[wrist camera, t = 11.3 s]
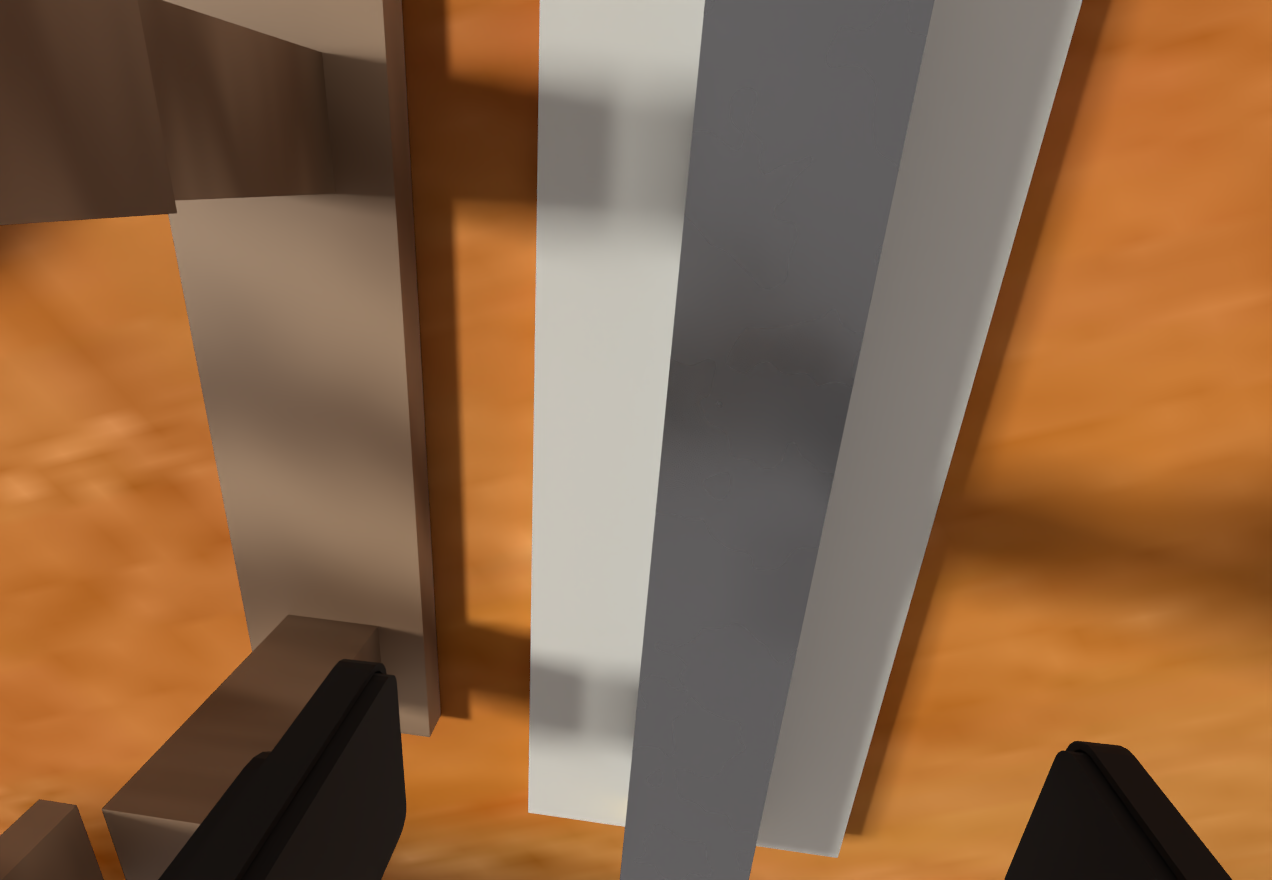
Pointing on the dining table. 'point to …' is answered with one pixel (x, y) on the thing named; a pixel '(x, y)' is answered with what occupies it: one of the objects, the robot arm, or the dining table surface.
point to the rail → (758, 398)
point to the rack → (252, 344)
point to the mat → (639, 370)
